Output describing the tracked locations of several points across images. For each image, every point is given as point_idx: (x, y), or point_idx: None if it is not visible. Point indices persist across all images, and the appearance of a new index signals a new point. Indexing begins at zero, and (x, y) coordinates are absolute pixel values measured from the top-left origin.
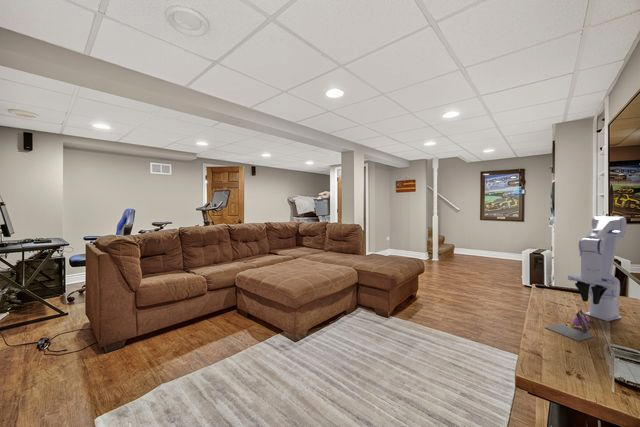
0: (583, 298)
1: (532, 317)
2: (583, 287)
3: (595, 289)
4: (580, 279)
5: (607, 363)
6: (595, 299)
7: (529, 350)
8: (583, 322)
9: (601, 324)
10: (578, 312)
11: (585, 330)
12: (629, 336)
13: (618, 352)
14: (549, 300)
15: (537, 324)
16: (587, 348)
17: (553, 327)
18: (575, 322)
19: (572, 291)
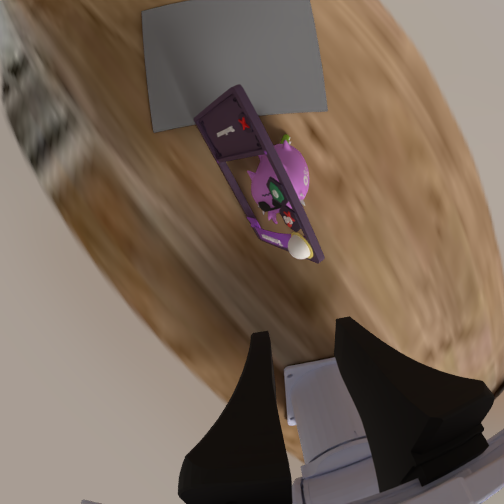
0: (350, 329)
1: (424, 71)
2: (401, 421)
3: (226, 460)
4: (482, 492)
5: (18, 4)
6: (247, 362)
7: None
8: (232, 155)
9: (269, 319)
10: (268, 149)
11: (208, 137)
12: (143, 304)
13: (37, 99)
14: (476, 336)
15: (351, 4)
16: (89, 5)
17: (296, 25)
18: (277, 146)
19: None
